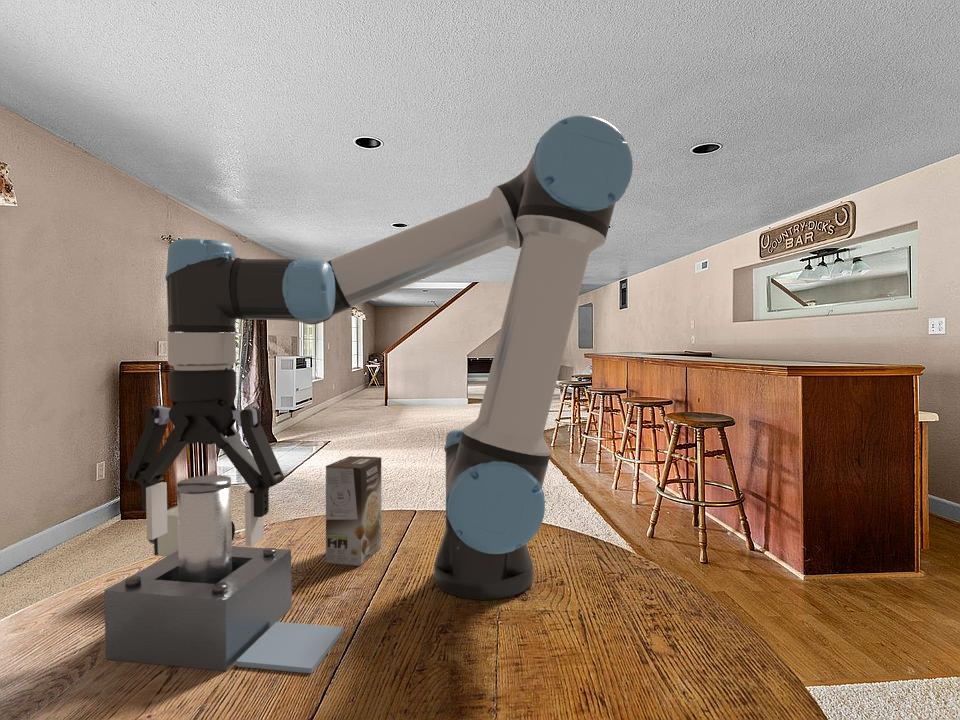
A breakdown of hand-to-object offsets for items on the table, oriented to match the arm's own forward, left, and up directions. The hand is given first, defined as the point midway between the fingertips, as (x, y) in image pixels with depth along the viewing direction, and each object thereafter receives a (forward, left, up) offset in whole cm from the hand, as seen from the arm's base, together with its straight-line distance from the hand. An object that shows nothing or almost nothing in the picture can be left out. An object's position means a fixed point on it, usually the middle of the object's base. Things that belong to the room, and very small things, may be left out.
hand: (205, 539), depth 71 cm
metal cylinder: (0, 0, -10) cm, 10 cm away
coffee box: (-9, -27, -12) cm, 31 cm away
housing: (0, 0, -12) cm, 12 cm away
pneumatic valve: (+11, -13, -12) cm, 21 cm away
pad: (-13, +2, -12) cm, 17 cm away
